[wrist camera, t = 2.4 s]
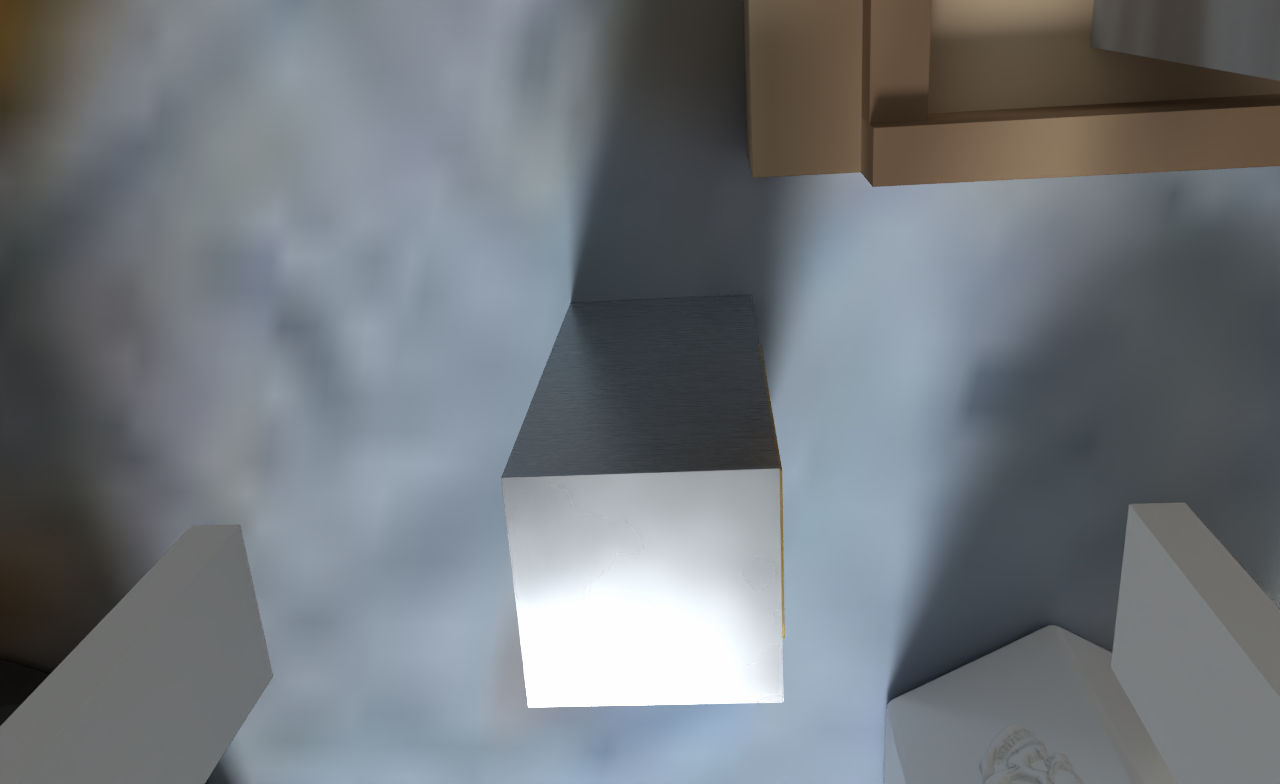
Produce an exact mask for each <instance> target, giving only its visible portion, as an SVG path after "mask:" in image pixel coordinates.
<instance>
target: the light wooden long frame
mask: <svg viewBox="0 0 1280 784" xmlns="http://www.w3.org/2000/svg"><path fill="white" fill-rule="evenodd" d="M744 31H745V70H746V110H747V149H748V160H749V164H750V168H751V171H752V175H753V178H759V177H778V176H797V175H817V174H836V173H855V172H861V173H862V174H863V175H864V177H865V178H866V179H867V180H868V182H869V183H870V184H871V185H872V186H873V187H877V186H897V185H916V184H936V183H955V182H975V181H994V180H1014V179H1033V178H1052V177H1072V176H1091V175H1111V174H1130V173H1150V172H1169V171H1189V170H1208V169H1227V168H1247V167H1266V166H1280V0H744Z"/></svg>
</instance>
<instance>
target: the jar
mask: <svg viewBox="0 0 1280 784" xmlns="http://www.w3.org/2000/svg"><path fill="white" fill-rule="evenodd" d="M1111 661H1112V652H1110V651H1108V650H1106V649H1104V648H1102V647H1100V646H1098V645H1096V644H1094V643H1092V642H1090V641H1088V640H1086V639H1083V638H1081V637H1079V636H1077V635H1075V634H1073V633H1071V632H1069V631H1067V630H1065V629H1063V628H1061V627H1059V626H1056V625H1049V626H1046V627H1044V628H1042V629H1039V630H1037V631H1035V632H1033V633H1031V634H1029V635H1027V636H1025V637H1023V638H1021V639H1018V640H1016V641H1014V642H1012V643H1010V644H1008V645H1006V646H1004V647H1002V648H1000V649H997V650H995V651H993V652H991V653H989V654H987V655H985V656H983V657H981V658H978V659H976V660H974V661H972V662H970V663H968V664H966V665H964V666H962V667H960V668H957V669H955V670H953V671H951V672H949V673H947V674H945V675H943V676H941V677H939V678H936V679H934V680H932V681H930V682H928V683H926V684H924V685H922V686H920V687H917V688H915V689H913V690H911V691H909V692H907V693H905V694H903V695H901V696H898V697H896V698H894V699H892V700H891V701H890V702H889V703H888V705H887V708H886V731H885V762H884V784H1177V782H1176V781H1175V779H1174V777H1173V775H1172V774H1171V772H1170V770H1169V768H1168V767H1167V765H1166V763H1165V761H1164V759H1163V758H1162V756H1161V754H1160V752H1159V751H1158V749H1157V747H1156V745H1155V744H1154V742H1153V740H1152V738H1151V737H1150V735H1149V733H1148V731H1147V730H1146V728H1145V726H1144V724H1143V723H1142V721H1141V719H1140V717H1139V715H1138V714H1137V712H1136V710H1135V708H1134V707H1133V705H1132V703H1131V701H1130V700H1129V698H1128V696H1127V694H1126V693H1125V691H1124V689H1123V687H1122V686H1121V684H1120V682H1119V680H1118V679H1117V677H1116V675H1115V673H1114V672H1113V670H1112V668H1111Z"/></svg>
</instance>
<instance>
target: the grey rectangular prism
mask: <svg viewBox="0 0 1280 784" xmlns="http://www.w3.org/2000/svg"><path fill="white" fill-rule="evenodd" d="M501 480H502V489H503V497H504V506H505V514H506V523H507V531H508V539H509V548H510V556H511V565H512V573H513V582H514V590H515V599H516V607H517V616H518V624H519V632H520V641H521V649H522V658H523V666H524V675H525V683H526V692H527V700H528V707H566V706H620V705H674V704H728V703H782V702H783V647H782V638H785V624H784V561H783V498H782V467H781V461H780V455H779V449H778V443H777V437H776V431H775V425H774V419H773V413H772V407H771V401H770V395H769V389H768V383H767V377H766V372H765V366H764V360H763V354H762V348H761V345H759V340H758V334H757V328H756V321H755V315H754V309H753V303H752V297H751V295H733V296H711V297H689V298H667V299H644V300H622V301H600V302H578V303H570V306H569V308H568V311H567V313H566V316H565V318H564V321H563V323H562V326H561V328H560V331H559V333H558V336H557V338H556V341H555V343H554V346H553V348H552V351H551V354H550V356H549V359H548V361H547V364H546V366H545V369H544V371H543V374H542V376H541V379H540V381H539V384H538V386H537V389H536V391H535V394H534V396H533V399H532V401H531V404H530V407H529V409H528V412H527V414H526V417H525V419H524V422H523V424H522V427H521V429H520V432H519V434H518V437H517V439H516V442H515V444H514V447H513V449H512V452H511V454H510V457H509V460H508V462H507V465H506V467H505V470H504V472H503V475H502V477H501Z"/></svg>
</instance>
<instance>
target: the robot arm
mask: <svg viewBox="0 0 1280 784" xmlns="http://www.w3.org/2000/svg"><path fill="white" fill-rule="evenodd" d="M1111 668H1112V670H1113V672H1114V673H1115V675H1116V677H1117V679H1118V680H1119V682H1120V684H1121V686H1122V687H1123V689H1124V691H1125V693H1126V694H1127V696H1128V698H1129V700H1130V701H1131V703H1132V705H1133V707H1134V708H1135V710H1136V712H1137V714H1138V715H1139V717H1140V719H1141V721H1142V723H1143V724H1144V726H1145V728H1146V730H1147V731H1148V733H1149V735H1150V737H1151V738H1152V740H1153V742H1154V744H1155V745H1156V747H1157V749H1158V751H1159V752H1160V754H1161V756H1162V758H1163V759H1164V761H1165V763H1166V765H1167V767H1168V768H1169V770H1170V772H1171V774H1172V775H1173V777H1174V779H1175V781H1176V782H1177V784H1280V609H1279V608H1278V607H1277V606H1276V605H1275V604H1274V602H1273V601H1272V600H1271V599H1270V598H1269V597H1268V596H1267V595H1266V593H1265V592H1264V591H1263V590H1262V589H1261V588H1260V587H1259V585H1258V584H1257V583H1256V582H1255V581H1254V580H1253V579H1252V578H1251V576H1250V575H1249V574H1248V573H1247V572H1246V571H1245V570H1244V569H1243V567H1242V566H1241V565H1240V564H1239V563H1238V562H1237V561H1236V560H1235V558H1234V557H1233V556H1232V555H1231V554H1230V553H1229V552H1228V551H1227V549H1226V548H1225V547H1224V546H1223V545H1222V544H1221V543H1220V541H1219V540H1218V539H1217V538H1216V537H1215V536H1214V535H1213V534H1212V532H1211V531H1210V530H1209V529H1208V528H1207V527H1206V526H1205V525H1204V523H1203V522H1202V521H1201V520H1200V519H1199V518H1198V517H1197V516H1196V514H1195V513H1194V512H1193V511H1192V510H1191V509H1190V508H1189V507H1188V505H1187V504H1186V503H1143V504H1129V509H1128V518H1127V527H1126V536H1125V545H1124V554H1123V563H1122V571H1121V580H1120V589H1119V598H1118V607H1117V616H1116V625H1115V634H1114V643H1113V652H1112V661H1111ZM272 677H273V674H272V669H271V664H270V660H269V655H268V651H267V646H266V641H265V637H264V632H263V628H262V623H261V618H260V614H259V609H258V605H257V600H256V595H255V591H254V586H253V582H252V577H251V572H250V568H249V563H248V559H247V554H246V549H245V545H244V540H243V536H242V531H241V527H240V525H206V526H191V527H190V528H189V529H188V530H187V532H186V533H185V534H184V535H183V536H182V537H181V538H180V539H179V540H178V541H177V542H176V543H175V544H174V545H173V546H172V547H171V548H170V549H169V550H168V551H167V552H166V553H165V555H164V556H163V557H162V558H161V559H160V560H159V561H158V562H157V563H156V564H155V565H154V566H153V567H152V568H151V569H150V570H149V571H148V572H147V573H146V574H145V575H144V577H143V578H142V579H141V580H140V581H139V582H138V583H137V584H136V585H135V586H134V587H133V588H132V589H131V590H130V591H129V592H128V593H127V594H126V595H125V596H124V597H123V598H122V600H121V601H120V602H119V603H118V604H117V605H116V606H115V607H114V608H113V609H112V610H111V611H110V612H109V613H108V614H107V615H106V616H105V617H104V618H103V619H102V620H101V621H100V623H99V624H98V625H97V626H96V627H95V628H94V629H93V630H92V631H91V632H90V633H89V634H88V635H87V636H86V637H85V638H84V639H83V640H82V641H81V642H80V643H79V645H78V646H77V647H76V648H75V649H74V650H73V651H72V652H71V653H70V654H69V655H68V656H67V657H66V658H65V659H64V660H63V661H62V662H61V663H60V664H59V665H58V666H57V668H56V669H55V670H54V671H53V672H52V673H51V674H50V675H49V674H46V673H44V672H41V671H38V670H35V669H32V668H29V667H26V666H23V665H20V664H17V663H13V662H9V661H5V660H2V659H0V784H205V783H206V781H207V779H208V778H209V776H210V775H211V773H212V771H213V770H214V768H215V767H216V765H217V764H218V762H219V760H220V759H221V757H222V756H223V754H224V753H225V751H226V749H227V748H228V746H229V745H230V743H231V742H232V740H233V738H234V737H235V735H236V734H237V732H238V731H239V729H240V727H241V726H242V724H243V723H244V721H245V720H246V718H247V716H248V715H249V713H250V712H251V710H252V708H253V707H254V705H255V704H256V702H257V701H258V699H259V697H260V696H261V694H262V693H263V691H264V690H265V688H266V686H267V685H268V683H269V682H270V680H271V679H272Z"/></svg>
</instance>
